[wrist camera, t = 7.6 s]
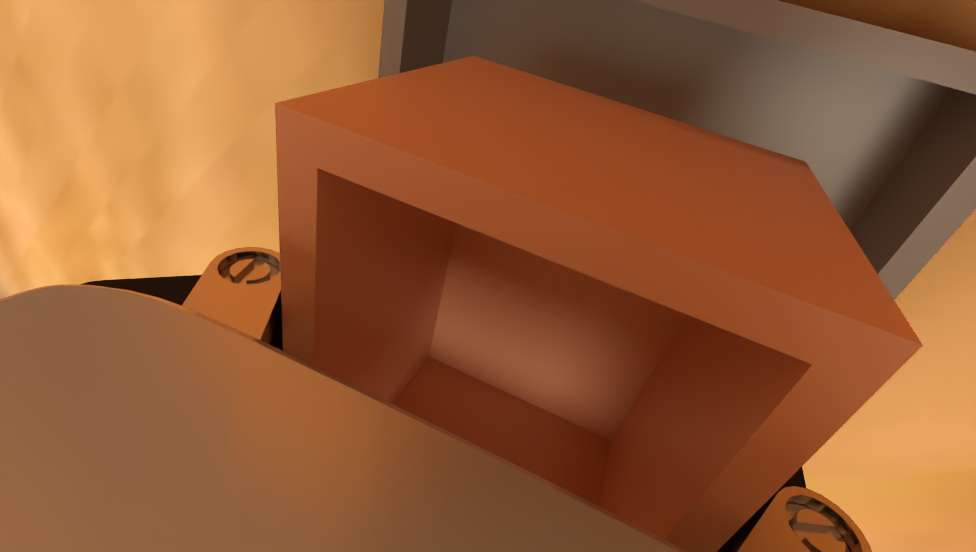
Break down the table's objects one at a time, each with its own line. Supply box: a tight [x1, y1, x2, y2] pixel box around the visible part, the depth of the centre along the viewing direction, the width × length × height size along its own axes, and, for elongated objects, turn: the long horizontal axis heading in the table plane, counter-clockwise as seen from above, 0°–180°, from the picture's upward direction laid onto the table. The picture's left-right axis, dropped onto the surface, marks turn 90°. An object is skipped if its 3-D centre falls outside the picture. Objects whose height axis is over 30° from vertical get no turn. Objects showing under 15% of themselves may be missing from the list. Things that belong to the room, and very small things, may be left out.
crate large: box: [378, 0, 976, 300], centre depth 16 cm, size 13×15×4 cm
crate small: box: [275, 56, 922, 552], centre depth 10 cm, size 9×7×6 cm
